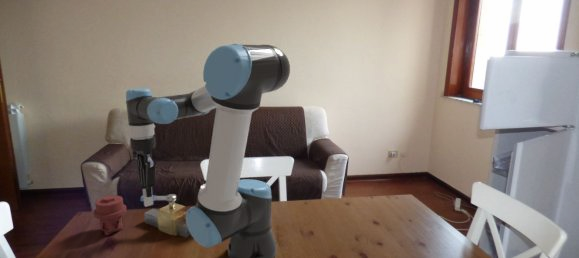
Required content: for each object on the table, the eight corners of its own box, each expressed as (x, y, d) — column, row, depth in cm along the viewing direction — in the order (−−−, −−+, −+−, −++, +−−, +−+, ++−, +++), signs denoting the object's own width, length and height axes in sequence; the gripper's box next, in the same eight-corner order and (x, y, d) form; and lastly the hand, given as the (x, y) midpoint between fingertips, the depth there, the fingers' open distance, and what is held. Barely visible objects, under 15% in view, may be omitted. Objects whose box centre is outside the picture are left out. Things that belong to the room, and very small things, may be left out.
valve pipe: (197, 230, 127) (195, 202, 124) (183, 239, 121) (181, 209, 119) (156, 217, 136) (154, 190, 134) (142, 224, 131) (139, 196, 128)
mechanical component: (134, 225, 130) (115, 239, 121) (109, 222, 132) (89, 236, 123) (131, 193, 127) (112, 205, 118) (105, 190, 129) (85, 202, 120)
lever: (175, 201, 124) (174, 197, 124) (140, 202, 123) (139, 198, 123) (177, 197, 127) (177, 194, 127) (143, 198, 126) (142, 194, 126)
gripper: (161, 138, 116) (167, 207, 121) (146, 131, 125) (152, 196, 130) (137, 142, 111) (144, 214, 116) (123, 135, 120) (130, 202, 125)
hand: (148, 205), depth 123 cm, fingers closed
